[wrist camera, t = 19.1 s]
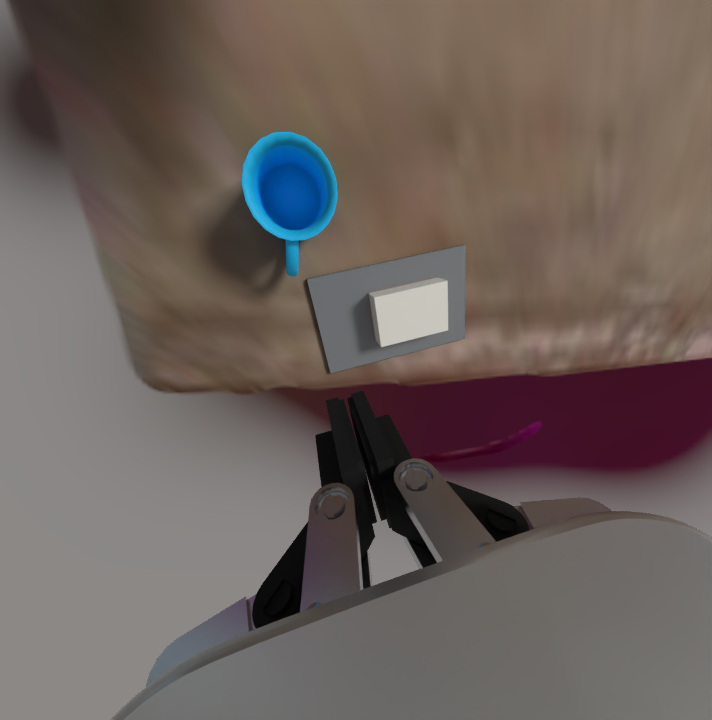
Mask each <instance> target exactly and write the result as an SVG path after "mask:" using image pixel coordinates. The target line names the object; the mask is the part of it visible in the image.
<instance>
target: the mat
mask: <svg viewBox="0 0 712 720" xmlns="http://www.w3.org/2000/svg"><path fill="white" fill-rule="evenodd" d="M465 274H466V245H461V246H456V247H451V248H447V249H442V250H438V251H433V252H428V253H424V254H419V255H414V256H410V257H405V258H401V259H396V260H391V261H387V262H382V263H378V264H373V265H368V266H364V267H359V268H355V269H350V270H345V271H341V272H336V273H332V274H327V275H322V276H318V277H313V278H309V279H307V282H308V286H309V290H310V294H311V298H312V302H313V306H314V310H315V314H316V318H317V322H318V326H319V330H320V334H321V338H322V342H323V346H324V350H325V354H326V358H327V362H328V366H329V370H330V373H334V372H338V371H342V370H346V369H350V368H353V367H357V366H361V365H365V364H369V363H373V362H376V361H380V360H384V359H388V358H392V357H396V356H399V355H403V354H407V353H411V352H415V351H419V350H423V349H426V348H430V347H434V346H438V345H442V344H446V343H449V342H453V341H457V340H461V339H465ZM435 277H438V278H441V279H444V280H447V281H448V330H447V331H443V332H439V333H436V334H432V335H428V336H424V337H420V338H416V339H412V340H408V341H404V342H400V343H396V344H392V345H388V346H384V347H381V346H380V345H379V344H378V342H377V341H376V340H375V334H374V328H373V321H372V315H371V308H370V301H369V295H368V293H369V292H374V291H378V290H382V289H387V288H391V287H396V286H400V285H404V284H409V283H413V282H417V281H422V280H426V279H431V278H435Z"/></svg>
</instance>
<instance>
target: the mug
mask: <svg viewBox="0 0 712 720" xmlns="http://www.w3.org/2000/svg"><path fill="white" fill-rule="evenodd" d="M242 187H243V192H244V196H245V201H246V203H247V205H248V207H249V209H250V211H251V213H252V215H253V217H254V218H255V219H256V220H257V221H258V222H259V223H260V224H261V226H262V227H263V228H264V229H265V230H267V231H269V232H270V233H272V234H273V235H275V236H277V237H279V238H282V239H286V269H287V274H288V275H289V276H296V275H297V274H298V259H299V240H307V239H309V238H311V237H313V236H315V235H317V234H319V233H320V232H321V231H322V230H323V229H324V228H325V227H326V226H327V225H328V224H329V222H330V220H331V218H332V216H333V214H334V212H335V208H336V202H337V197H338V194H337V183H336V177H335V175H334V172H333V169H332V166H331V163H330V162H329V160H328V159H327V158H326V156H325V155H324V153H323V152H322V150H321V149H320V148H319V147H318V146H316V145H315V144H314V143H313V142H311V141H310V140H309V139H308V138H306V137H303V136H301V135H298V134H295V133H293V132H274V133H272V134H270V135H268V136H265V137H263V138H261V139H260V140H259V141H258V142H257V143H256V144H255V145H254V146H253V147H252V148H251V150H250V151H249V153H248V155H247V158H246V160H245V163H244V165H243V174H242Z"/></svg>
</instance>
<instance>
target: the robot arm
mask: <svg viewBox="0 0 712 720" xmlns="http://www.w3.org/2000/svg"><path fill="white" fill-rule="evenodd" d="M347 400H348V404H349V409H350V413H351V417H352V422H353V426H354V431H355V435H356V438H355V435H354V431H353V428H352V425H351V422H350V419H349V415H348V412H347V409H346V406H345V403H344V400H343V399H342V400H338V398H333V399H329V400H326V404H327V408H328V413H329V418H330V423H331V428H332V431H328V432H325V433H321V434H318V435H316V445H317V453H318V462H319V470H320V478H321V486H322V488H320V489H319V490H318V491H317V492H316V493H315V494H314V496H313V498H312V499H311V503H310V508H309V518H308V519H309V520H308V522H307V524H306V525H305V527H304V528H303V529H302V531H301V532H300V533H299V535H298V536H297V537H296V539H295V540H294V541H293V543H292V544H291V546H290V547H289V548H288V550H287V551H286V552H285V554H284V555H283V556H282V558H281V559H280V561H279V562H278V563H277V565H276V566H275V567H274V569H273V570H272V572H271V573H270V574H269V576H268V577H267V578H266V580H265V581H264V582H263V584H262V585H261V587H260V589H259V590H258V592H257V594H256V595H254V596H253V597H251V598H249V599H247V598H246V597H244V598H243V599H241V600H239V601H238V602H236V603H234V604H233V605H231V606H229V607H228V608H226V609H225V610H223V611H221V612H220V613H218V614H216V615H215V616H213V617H212V618H210V619H208V620H207V621H205V622H204V623H202V624H200V625H199V626H197V627H195V628H194V629H192V630H190V631H189V632H187V633H186V634H184V635H182V636H181V637H179V638H178V639H176V640H175V641H174V642H172V643H171V644H170V645H169V646H167V648H166V649H165V650H164V651H163V652H162V654H161V655H160V656H159V657H158V659H157V660H156V662H155V664H154V666H153V668H152V670H151V672H150V674H149V677H148V681H147V684H146V688H144V689H143V690H142V691H141V692H140V693H139V694H137V695H136V696H135V697H134V698H133V699H132V700H130V701H129V702H128V703H127V704H126V705H125V706H124V707H123V708H122V709H121V710H120V711H119V712H118V713H117V714H116V715H115V716H114V717H113V718H112V719H111V720H712V536H710V535H708V534H706V533H704V532H702V531H700V530H699V529H697V528H695V527H693V526H691V525H688V524H686V523H684V522H681V521H678V520H675V519H672V518H669V517H665V516H660V515H655V514H649V513H641V512H631V511H611V510H610V509H609V508H608V507H606V506H605V505H603V504H601V503H600V502H597V501H595V500H592V499H589V498H568V499H555V500H543V501H531V502H520V504H519V506H512V505H510V504H508V503H505V502H503V501H501V500H498V499H495V498H492V497H489V496H487V495H484V494H481V493H479V492H476V491H473V490H470V489H467V488H465V487H461V486H459V485H456V484H454V483H451V482H448V481H445V480H444V478H443V477H442V476H441V475H440V474H439V472H438V471H437V470H436V469H435V468H434V467H433V466H432V465H431V464H430V463H428V462H426V461H424V460H421V459H412V457H411V455H410V454H409V452H408V450H407V448H406V446H405V444H404V442H403V441H402V439H401V437H400V435H399V433H398V431H397V429H396V427H395V426H394V424H393V422H392V420H391V418H390V416H389V415H384V416H381V417H378V418H375V416H374V413H373V411H372V409H371V407H370V405H369V402H368V401H367V398H366V396H365V394H364V391H359V392H355V393H352V394H351V397H350V398H347ZM356 439H357V441H356ZM365 470H366V471H365ZM366 473H367V476H368V480H369V483H370V486H371V489H372V493H373V495H374V499H375V502H376V505H377V509H378V512H379V515H380V518H381V521H382V520H385V519H387V522H388V525H389V528H392V530H393V531H395V532H396V533H398V534H400V535H402V536H403V538H404V540H405V543H406V545H407V546H408V548H409V550H410V552H411V554H412V556H413V558H414V560H415V562H416V563H417V565H418V567H419V570H416V571H414V572H410V573H408V574H405V575H402V576H399V577H396V578H394V579H391V580H388V581H385V582H382V583H380V584H377V585H374V586H372V577H371V567H370V557H369V552H368V549H369V547H370V545H371V543H372V541H373V539H374V537H375V534H374V530H373V526H372V524H373V523H376V522H377V520H376V516H375V511H374V507H373V503H372V498H371V493H370V489H369V485H368V480H367V476H366Z"/></svg>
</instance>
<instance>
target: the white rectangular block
mask: <svg viewBox="0 0 712 720" xmlns="http://www.w3.org/2000/svg"><path fill="white" fill-rule="evenodd" d="M368 295H369V301H370V308H371V315H372V321H373V328H374V334H375V340H376V341H377V342H378V344H379V345H380V346H381V347H384V346H388V345H392V344H396V343H400V342H404V341H408V340H412V339H416V338H420V337H424V336H428V335H432V334H436V333H439V332H443V331H447V330H448V281H447V280H444V279H441V278H438V277H435V278H431V279H426V280H422V281H417V282H413V283H409V284H404V285H400V286H396V287H391V288H387V289H382V290H378V291H374V292H369V293H368Z"/></svg>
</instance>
